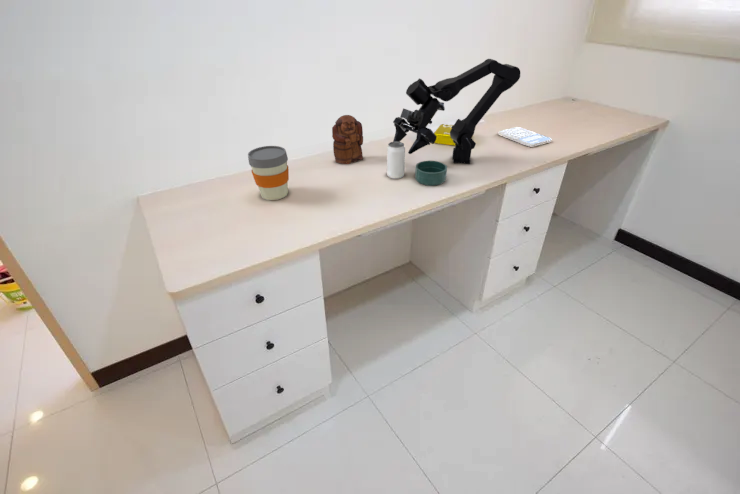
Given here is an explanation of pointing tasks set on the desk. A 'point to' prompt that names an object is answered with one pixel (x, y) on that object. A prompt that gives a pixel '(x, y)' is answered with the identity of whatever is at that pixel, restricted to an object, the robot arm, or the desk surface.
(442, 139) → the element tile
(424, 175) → the bowl
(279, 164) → the reusable coffee cup
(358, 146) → the wooden figurine
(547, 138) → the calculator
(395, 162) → the can
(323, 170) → the desk surface
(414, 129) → the robot arm
